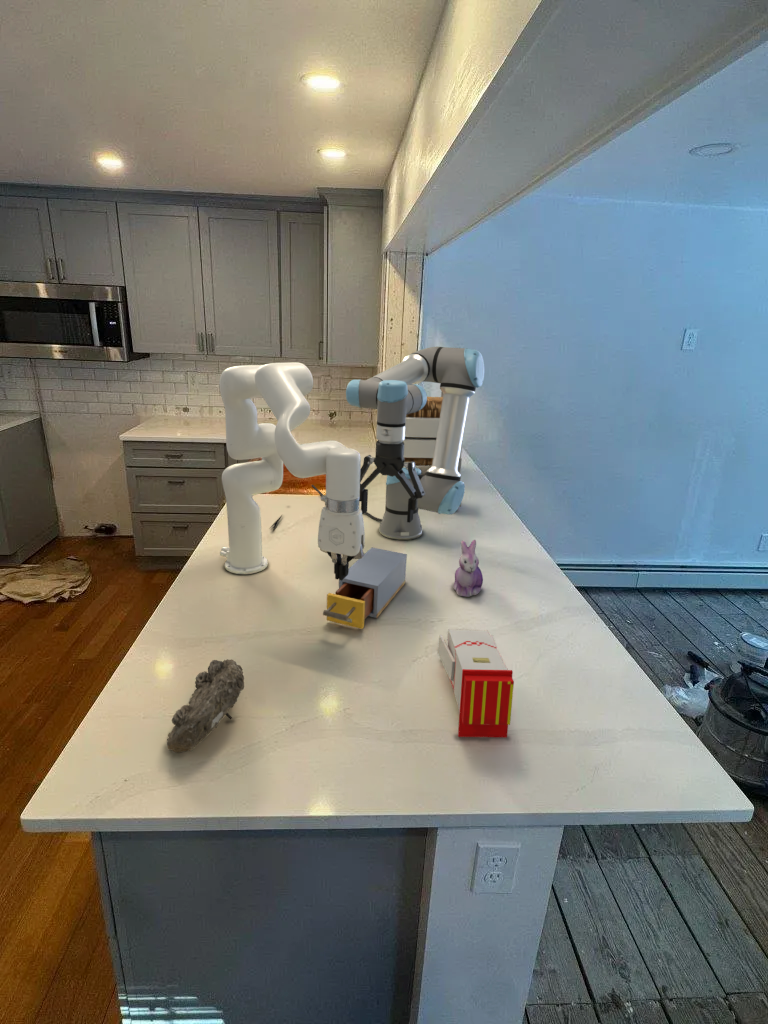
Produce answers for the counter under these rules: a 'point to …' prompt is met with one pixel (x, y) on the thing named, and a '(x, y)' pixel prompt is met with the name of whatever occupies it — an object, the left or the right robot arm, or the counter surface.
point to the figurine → (468, 572)
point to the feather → (275, 523)
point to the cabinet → (379, 575)
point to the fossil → (206, 705)
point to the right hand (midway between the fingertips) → (386, 516)
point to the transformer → (423, 433)
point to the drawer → (350, 605)
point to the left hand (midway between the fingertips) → (341, 577)
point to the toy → (478, 682)
